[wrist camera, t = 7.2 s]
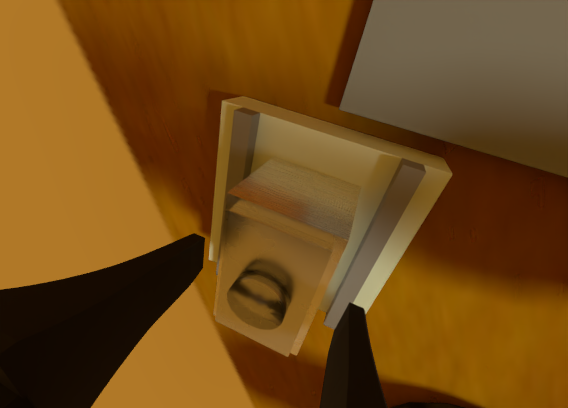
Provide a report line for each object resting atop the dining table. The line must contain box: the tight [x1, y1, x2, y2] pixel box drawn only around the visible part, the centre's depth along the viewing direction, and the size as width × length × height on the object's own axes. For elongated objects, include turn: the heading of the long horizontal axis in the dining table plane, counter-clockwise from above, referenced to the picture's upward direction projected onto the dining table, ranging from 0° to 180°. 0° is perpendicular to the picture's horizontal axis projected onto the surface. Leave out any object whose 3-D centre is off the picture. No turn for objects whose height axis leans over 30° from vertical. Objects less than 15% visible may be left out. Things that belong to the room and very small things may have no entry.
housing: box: [213, 157, 361, 357], centre depth 13 cm, size 8×5×6 cm, turn 167°
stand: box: [209, 96, 453, 329], centre depth 17 cm, size 12×12×4 cm
